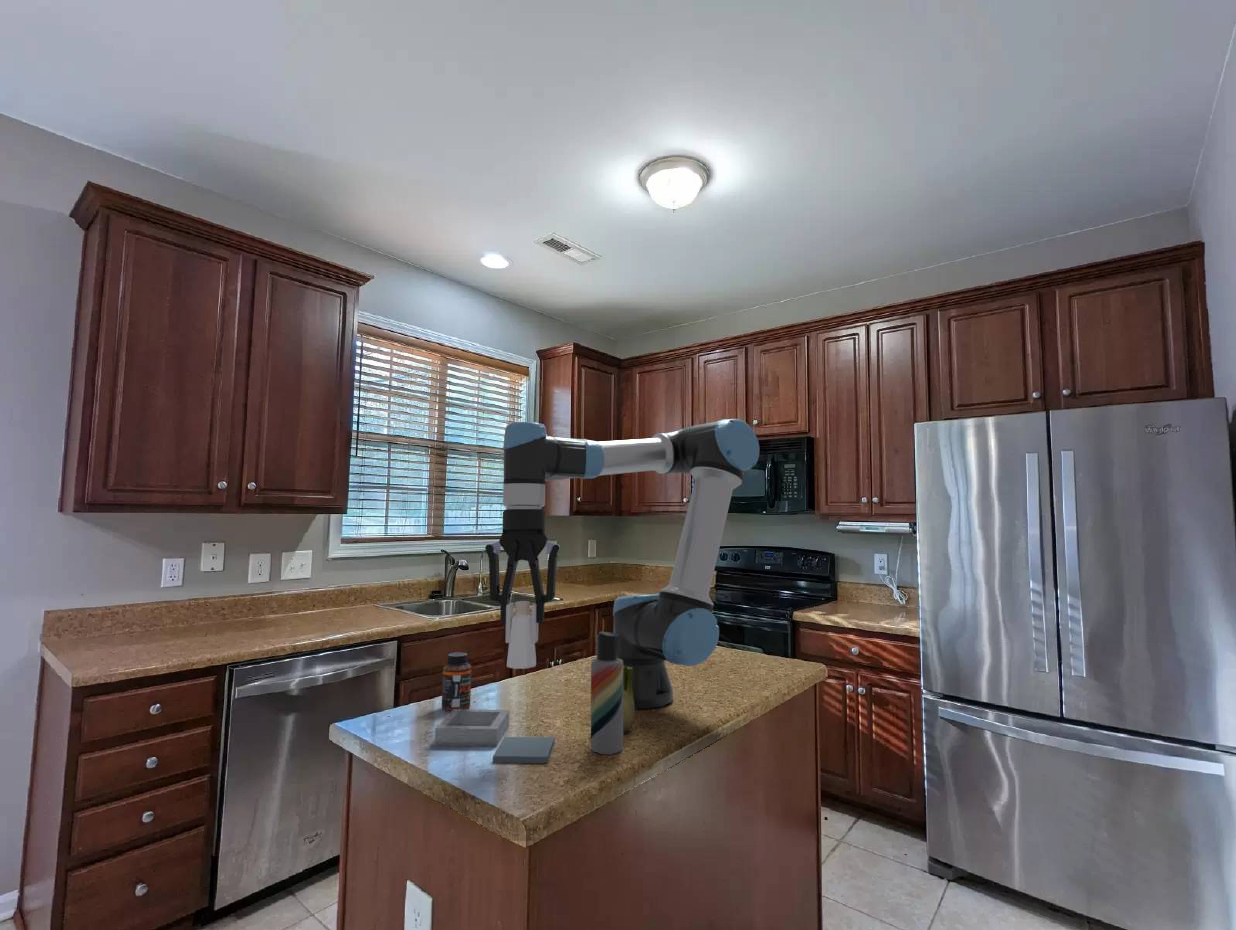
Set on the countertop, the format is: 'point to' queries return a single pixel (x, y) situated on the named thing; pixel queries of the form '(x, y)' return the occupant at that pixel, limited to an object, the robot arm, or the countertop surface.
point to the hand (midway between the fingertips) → (522, 641)
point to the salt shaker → (521, 639)
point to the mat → (524, 750)
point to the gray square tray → (472, 728)
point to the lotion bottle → (607, 696)
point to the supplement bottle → (456, 682)
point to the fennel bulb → (628, 700)
